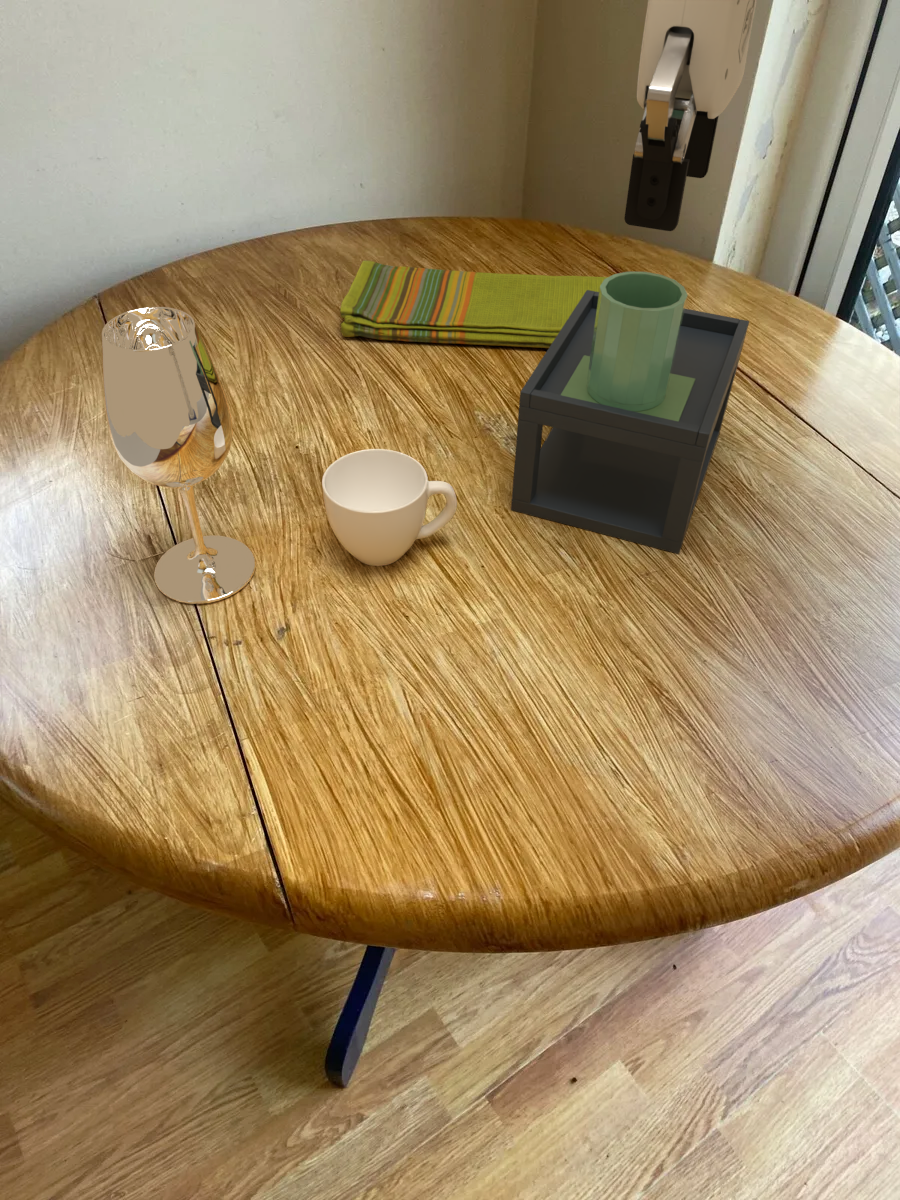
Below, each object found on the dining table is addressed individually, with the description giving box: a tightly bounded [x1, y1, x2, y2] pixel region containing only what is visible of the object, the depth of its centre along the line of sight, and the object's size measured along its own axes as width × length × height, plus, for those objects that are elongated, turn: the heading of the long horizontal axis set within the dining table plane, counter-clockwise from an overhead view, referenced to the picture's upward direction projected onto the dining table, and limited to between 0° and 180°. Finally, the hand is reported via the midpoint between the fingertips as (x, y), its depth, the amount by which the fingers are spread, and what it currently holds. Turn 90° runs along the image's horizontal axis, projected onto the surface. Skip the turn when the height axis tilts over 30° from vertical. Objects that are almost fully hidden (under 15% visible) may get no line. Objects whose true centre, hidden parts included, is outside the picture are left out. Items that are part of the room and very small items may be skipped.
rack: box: [510, 290, 750, 555], centre depth 75 cm, size 14×18×11 cm
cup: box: [321, 448, 458, 567], centre depth 69 cm, size 8×10×7 cm
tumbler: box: [587, 271, 688, 411], centre depth 66 cm, size 6×6×8 cm
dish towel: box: [339, 260, 609, 349], centre depth 98 cm, size 15×36×3 cm, turn 85°
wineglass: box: [101, 306, 257, 605], centre depth 62 cm, size 8×8×20 cm
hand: (667, 198), depth 59 cm, fingers open, 9 cm apart
